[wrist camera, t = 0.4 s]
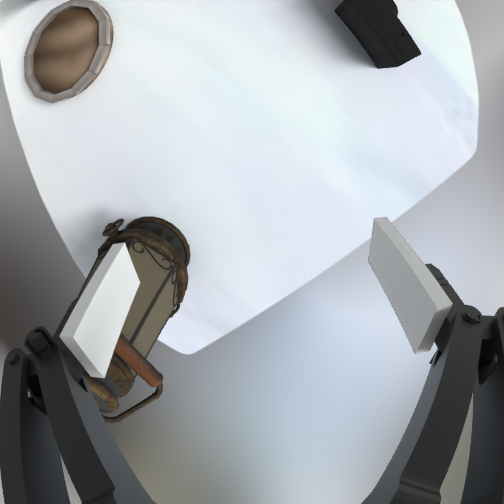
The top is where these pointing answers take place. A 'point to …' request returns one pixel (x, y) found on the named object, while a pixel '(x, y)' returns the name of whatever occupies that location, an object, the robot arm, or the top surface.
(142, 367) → the lantern
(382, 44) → the digital camera
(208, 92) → the top surface
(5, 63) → the top surface
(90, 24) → the carrier plate
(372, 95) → the top surface
